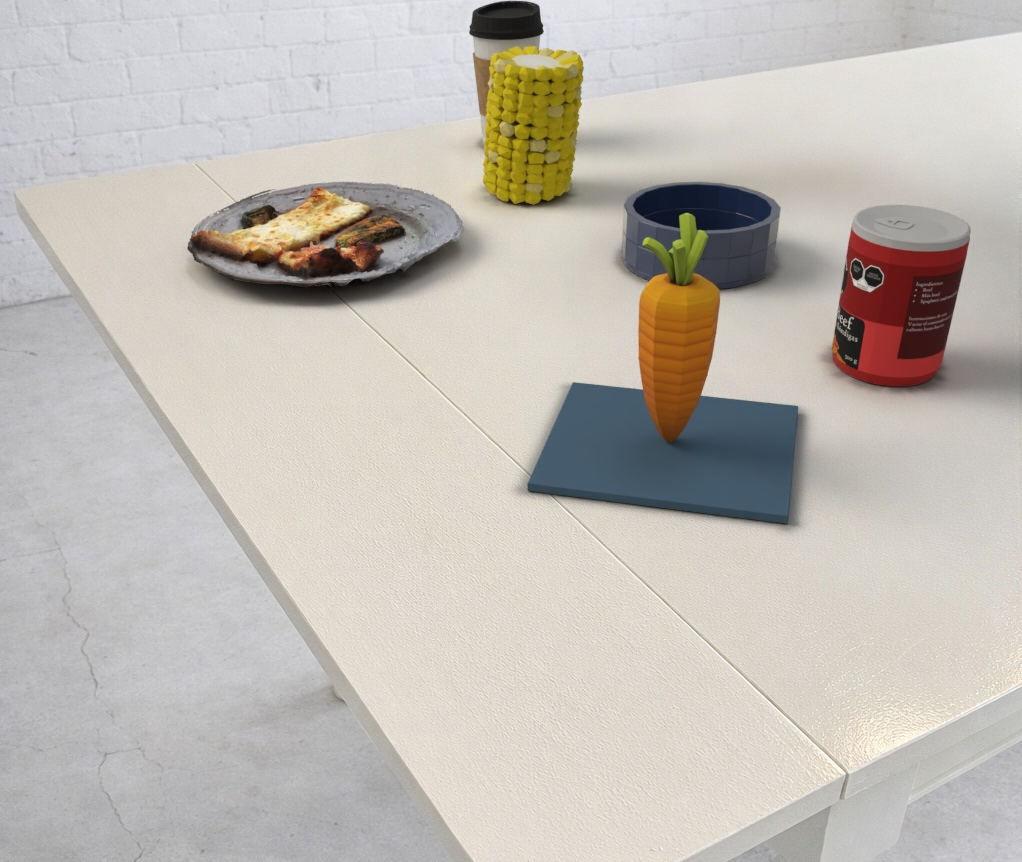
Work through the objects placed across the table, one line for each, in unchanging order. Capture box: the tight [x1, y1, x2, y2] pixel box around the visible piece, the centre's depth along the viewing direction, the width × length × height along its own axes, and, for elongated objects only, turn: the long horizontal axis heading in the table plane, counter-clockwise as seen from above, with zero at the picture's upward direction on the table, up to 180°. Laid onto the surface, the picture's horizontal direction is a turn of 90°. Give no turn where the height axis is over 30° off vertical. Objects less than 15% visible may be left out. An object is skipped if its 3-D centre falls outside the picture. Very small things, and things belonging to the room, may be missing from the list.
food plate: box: [186, 181, 464, 291], centre depth 104 cm, size 25×23×4 cm
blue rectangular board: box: [527, 381, 799, 525], centre depth 74 cm, size 16×14×1 cm
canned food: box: [831, 204, 972, 387], centre depth 81 cm, size 8×8×11 cm
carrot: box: [637, 213, 721, 443], centre depth 70 cm, size 5×5×15 cm
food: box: [482, 46, 585, 206], centre depth 114 cm, size 15×12×10 cm
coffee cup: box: [468, 0, 545, 147], centre depth 129 cm, size 8×8×15 cm
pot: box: [621, 181, 782, 290], centre depth 101 cm, size 14×14×5 cm
